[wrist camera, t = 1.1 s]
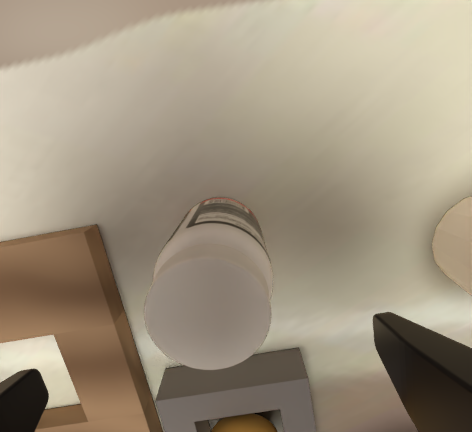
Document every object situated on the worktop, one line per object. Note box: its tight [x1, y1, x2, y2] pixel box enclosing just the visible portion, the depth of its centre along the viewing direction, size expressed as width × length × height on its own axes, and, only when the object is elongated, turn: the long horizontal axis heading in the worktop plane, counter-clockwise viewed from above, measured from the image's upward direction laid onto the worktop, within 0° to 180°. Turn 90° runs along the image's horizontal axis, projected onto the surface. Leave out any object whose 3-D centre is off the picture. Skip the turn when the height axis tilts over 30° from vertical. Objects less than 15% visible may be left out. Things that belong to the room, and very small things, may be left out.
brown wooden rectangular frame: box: [0, 225, 163, 432], centre depth 19 cm, size 18×14×2 cm
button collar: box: [155, 348, 316, 432], centre depth 19 cm, size 9×9×2 cm
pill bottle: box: [144, 198, 273, 370], centre depth 13 cm, size 5×5×8 cm
